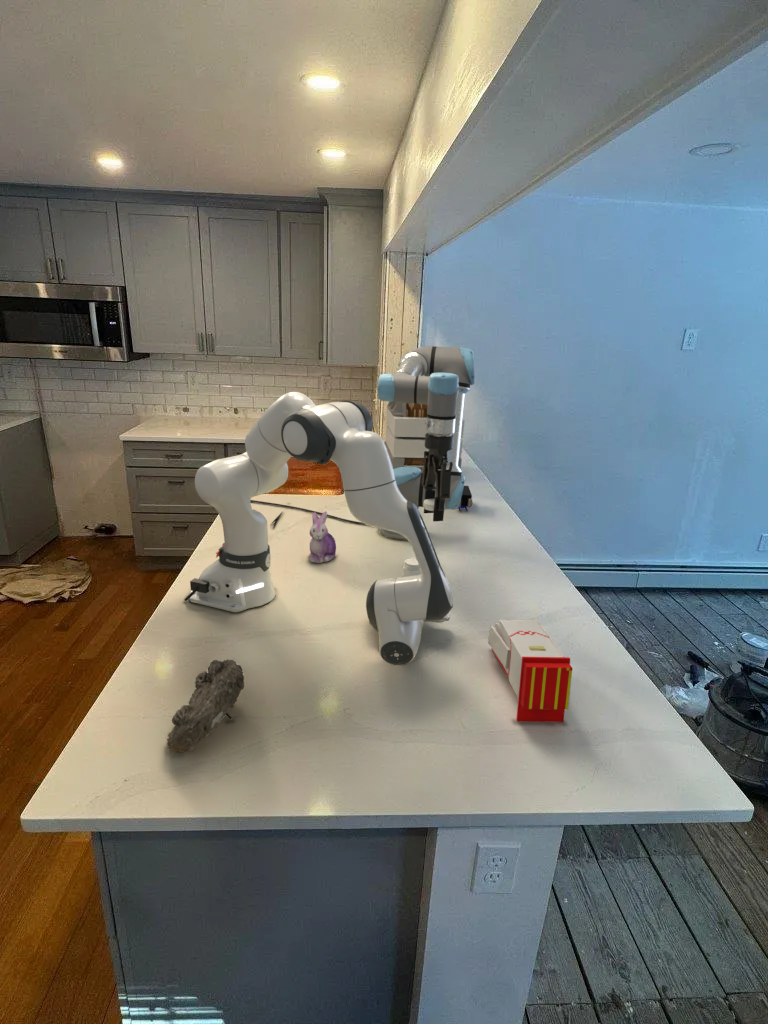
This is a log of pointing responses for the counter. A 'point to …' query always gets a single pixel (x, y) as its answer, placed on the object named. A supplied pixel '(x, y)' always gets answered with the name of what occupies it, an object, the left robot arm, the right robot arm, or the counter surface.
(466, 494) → the figurine character
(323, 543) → the figurine
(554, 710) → the toy
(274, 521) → the feather
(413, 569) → the jar
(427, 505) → the lid
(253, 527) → the left robot arm
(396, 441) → the transformer
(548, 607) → the counter surface
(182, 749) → the fossil
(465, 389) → the right robot arm
